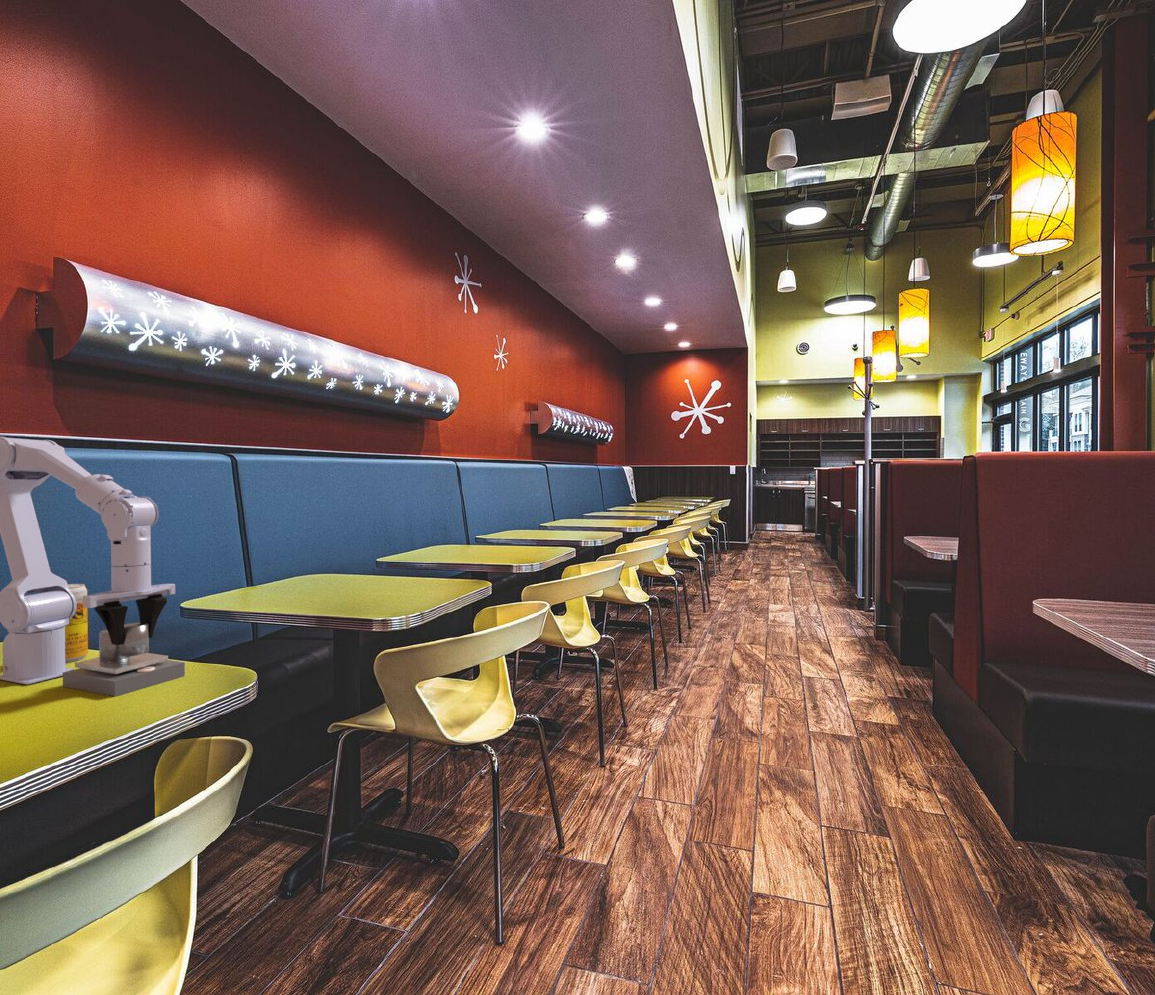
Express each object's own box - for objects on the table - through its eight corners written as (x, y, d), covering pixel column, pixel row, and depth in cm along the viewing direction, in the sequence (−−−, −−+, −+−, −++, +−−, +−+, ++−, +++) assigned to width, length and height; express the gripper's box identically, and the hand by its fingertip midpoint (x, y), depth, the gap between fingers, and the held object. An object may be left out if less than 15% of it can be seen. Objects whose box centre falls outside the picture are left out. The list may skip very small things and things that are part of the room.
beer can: (65, 664, 119) (64, 588, 119) (40, 662, 121) (39, 587, 120) (95, 656, 125) (94, 584, 125) (71, 654, 127) (70, 583, 126)
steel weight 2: (112, 655, 107) (111, 626, 107) (137, 648, 111) (137, 621, 111) (129, 657, 105) (128, 628, 105) (154, 651, 109) (154, 623, 109)
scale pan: (75, 667, 107) (74, 662, 107) (128, 654, 116) (128, 650, 116) (115, 674, 103) (115, 669, 103) (168, 660, 112) (168, 655, 112)
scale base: (62, 686, 106) (62, 669, 106) (134, 667, 117) (134, 652, 117) (115, 696, 101) (114, 678, 101) (184, 675, 112) (184, 659, 112)
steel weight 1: (95, 659, 109) (94, 631, 109) (123, 653, 113) (123, 626, 113) (105, 662, 107) (105, 634, 107) (134, 656, 111) (133, 629, 111)
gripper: (101, 571, 100) (102, 653, 100) (186, 561, 113) (187, 633, 114) (74, 569, 102) (75, 649, 103) (160, 559, 116) (161, 630, 116)
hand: (132, 640), depth 108 cm, fingers closed on steel weight 2, 4 cm apart
